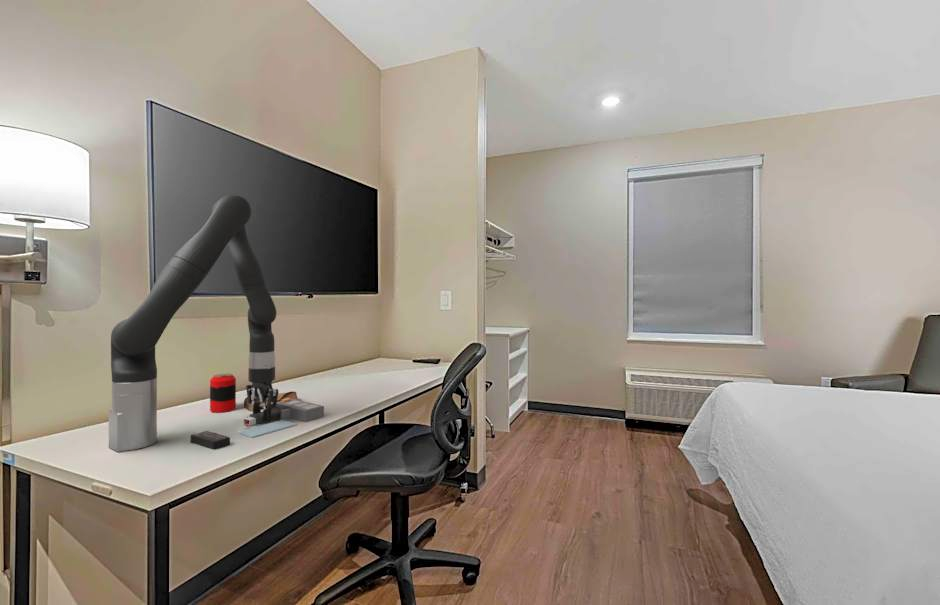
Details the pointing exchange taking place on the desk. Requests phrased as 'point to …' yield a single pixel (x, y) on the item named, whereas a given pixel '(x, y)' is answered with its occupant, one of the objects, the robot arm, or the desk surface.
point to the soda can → (222, 393)
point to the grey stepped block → (299, 410)
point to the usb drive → (258, 417)
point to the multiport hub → (210, 440)
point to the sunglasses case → (280, 396)
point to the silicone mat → (267, 428)
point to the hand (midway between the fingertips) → (261, 419)
